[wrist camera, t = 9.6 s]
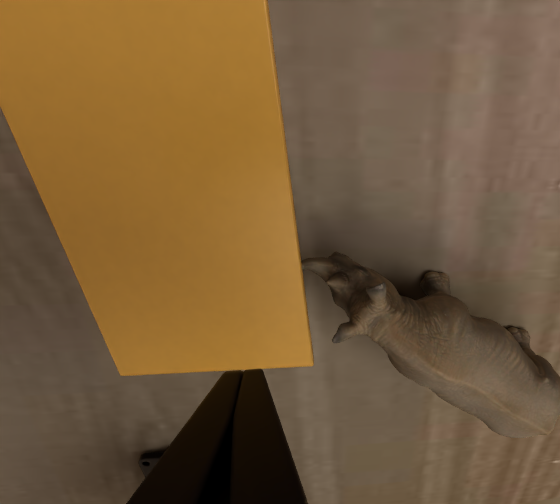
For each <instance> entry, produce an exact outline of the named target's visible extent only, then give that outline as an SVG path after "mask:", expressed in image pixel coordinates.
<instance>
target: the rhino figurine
mask: <svg viewBox="0 0 560 504" xmlns="http://www.w3.org/2000/svg"><path fill="white" fill-rule="evenodd" d="M301 263H302V270H305V269H307V270H311V271H313V272H315V273H316V274H318V275H319V276H321V278H322V279H323V280H324V281H325V282H326V283H327V284H328V286H329V287H330V290H331V292H332V296H333V299H334V302H335V304H337V305H338V306H340V307H341V308H343V309H344V310H345V312H346V313H347V315H348V317H349V318H350V321H349V322H347V323H343V324H341V325H340V326H339V328H338V330H337V333H336V334H335V335H334V337H333V339H332V341H333V343H339V342H342V341H344V340H346V339H349V338H351V337H352V336H354V335H356V334H365V335H368V336H369V337H370V338H371V339H372V340H373V341H374V342H376V343H378V344H379V345H380V346H381V347H382V348H383V349H384V350H385V351H386V352H387V353H388V357H389V359H390V361H391V363H392V364H393V365H394V367H395V368H396V369H397V370H398V371H399V372H400V373H401V374H403V375H404V376H406V377H408V378H409V379H411V380H413V381H414V382H416V383H418V384H420V385H422V386H426V387H429V388H430V389H431V390H432V391H433V392H434V393H435V394H436V395H438V396H439V397H440V398H442V399H443V400H445V401H447V402H448V403H450V404H451V405H453V406H455V407H457V408H459V409H461V410H463V411H465V412H467V413H470V414H472V415H474V416H476V417H477V418H479V419H480V420H482V421H483V422H484V423H485V424H486V425H487V426H488V427H489V428H490V429H491V430H492V431H494V432H496V433H498V434H500V435H503V436H506V437H512V438H526V437H532V436H537V435H547V434H549V433H551V432H552V430H553V429H554V426H555V423H556V420H557V418H558V416H559V415H560V377H559V375H558V374H557V373H556V372H555V371H554V369H553V367H552V366H551V364H550V363H549V362H548V361H547V360H546V359H544V358H543V357H541V356H538V355H535V353H534V352H533V351H532V350H531V348H530V344H529V343H530V336H529V334H528V332H527V331H526V330H523V329H517V328H514V327H511V328H508V329H505V328H504V327H503V326H501V325H500V324H498V323H497V322H494V321H492V320H489V319H485V318H476V317H472V316H470V314H469V310H468V308H467V306H466V305H465V304H464V303H463V302H462V301H460V300H459V299H457V298H455V297H453V296H450V284H449V277H448V275H447V274H445V273H437V272H429V273H426V274H425V276H424V279H423V280H422V281H421V284H420V286H421V288H422V290H423V291H424V292H425V294H427V295H428V296H426V297H424V298H421V299H418V300H413V299H411V298H408V297H405V296H400V295H399V294H398V292H397V290H396V288H395V287H394V285H393V284H392V283H391V282H390V281H389V280H388V279H386V278H385V277H383V276H382V275H380V274H379V273H377V272H375V271H374V270H372V269H369V268H365V267H363V266H361V265H360V264H358V263H356V262H354V261H353V260H352V259H350V258H349V257H347V256H346V255H343V254H340V253H338V252H335V253H333V254H332V255H331V256H329V257H328V258H308V259H305V260H302V261H301Z"/></svg>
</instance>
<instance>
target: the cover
mask: <svg viewBox="0 0 560 504" xmlns="http://www.w3.org/2000/svg"><path fill="white" fill-rule="evenodd" d="M0 107H1V109H2V111H3V114H4V116H5V118H6V120H7V123H8V125H9V127H10V129H11V131H12V134H13V136H14V138H15V140H16V143H17V145H18V147H19V149H20V152H21V154H22V156H23V158H24V161H25V163H26V165H27V167H28V170H29V172H30V174H31V176H32V179H33V181H34V183H35V185H36V188H37V190H38V192H39V194H40V196H41V199H42V201H43V203H44V205H45V208H46V210H47V212H48V214H49V217H50V219H51V221H52V223H53V226H54V228H55V230H56V232H57V235H58V237H59V239H60V241H61V244H62V246H63V248H64V250H65V253H66V255H67V257H68V259H69V261H70V264H71V266H72V268H73V270H74V273H75V275H76V277H77V279H78V282H79V284H80V286H81V288H82V291H83V293H84V295H85V297H86V300H87V302H88V304H89V306H90V309H91V311H92V313H93V315H94V318H95V320H96V322H97V324H98V326H99V329H100V331H101V333H102V335H103V338H104V340H105V342H106V344H107V347H108V349H109V351H110V353H111V356H112V358H113V360H114V362H115V365H116V367H117V369H118V371H119V374H120V375H121V376H130V375H149V374H169V373H188V372H208V371H227V370H247V369H266V368H286V367H305V366H313V365H314V357H313V349H312V341H311V333H310V325H309V318H308V310H307V302H306V294H305V287H304V279H303V271H302V263H301V256H300V248H299V240H298V232H297V225H296V217H295V209H294V201H293V193H292V186H291V178H290V170H289V162H288V155H287V147H286V139H285V131H284V124H283V116H282V108H281V100H280V93H279V85H278V77H277V69H276V61H275V54H274V46H273V38H272V30H271V23H270V15H269V7H268V0H0Z"/></svg>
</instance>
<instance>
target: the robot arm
mask: <svg viewBox="0 0 560 504" xmlns="http://www.w3.org/2000/svg"><path fill="white" fill-rule="evenodd" d="M139 465H140V467H141V469H142V471H143V473H144V475H145V479H144V481H143V482H142V483H141V485H140V486H139V487H138V489H137V490H136V491H135V493H134V494H133V495H132V497H131V498H130V499H129V501H128V502H127V503H126V504H308V503H307V499H306V496H305V493H304V490H303V487H302V484H301V481H300V478H299V475H298V472H297V469H296V466H295V463H294V461H293V458H292V455H291V452H290V449H289V446H288V443H287V440H286V437H285V434H284V431H283V428H282V425H281V422H280V419H279V416H278V414H277V411H276V408H275V405H274V402H273V399H272V396H271V393H270V390H269V387H268V384H267V381H266V378H265V375H264V372H263V370H262V369H248V370H245V371H244V372H243V371H241V370H237V371H227V372H225V373H223V375H222V376H221V377H220V379H219V380H218V381H217V383H216V384H215V385H214V387H213V388H212V389H211V391H210V392H209V393H208V395H207V396H206V397H205V399H204V400H203V401H202V403H201V404H200V405H199V407H198V408H197V409H196V411H195V412H194V413H193V415H192V416H191V418H190V419H189V420H188V422H187V423H186V424H185V426H184V427H183V428H182V430H181V431H180V432H179V434H178V435H177V436H176V438H175V439H174V440H173V442H172V443H171V444H170V446H169V447H168V448H167V450H166V451H165V452H160V453H145V454H142V455H141V457H140V460H139Z"/></svg>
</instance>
